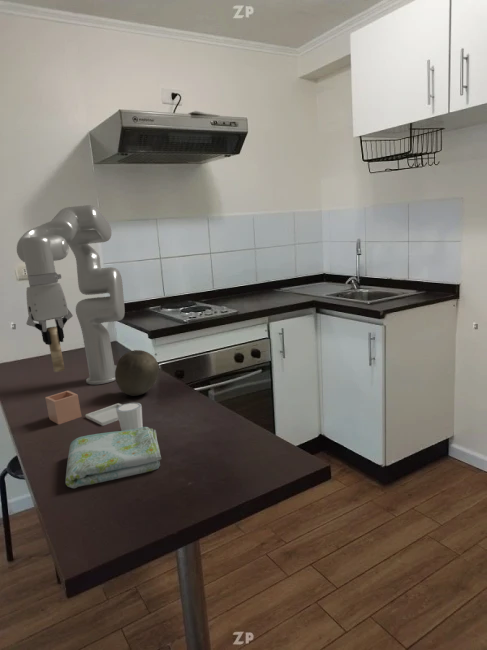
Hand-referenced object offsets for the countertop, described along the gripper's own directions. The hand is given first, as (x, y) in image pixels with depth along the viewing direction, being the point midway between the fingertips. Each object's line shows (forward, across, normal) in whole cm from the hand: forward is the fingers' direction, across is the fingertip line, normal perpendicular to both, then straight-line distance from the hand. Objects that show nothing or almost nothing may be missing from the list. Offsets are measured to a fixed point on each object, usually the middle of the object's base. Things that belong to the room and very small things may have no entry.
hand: (54, 342), depth 141 cm
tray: (+24, -9, +10) cm, 28 cm away
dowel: (+9, 0, 0) cm, 9 cm away
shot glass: (+24, -8, +25) cm, 36 cm away
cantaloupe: (+24, -25, -1) cm, 35 cm away
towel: (+25, +4, +39) cm, 46 cm away
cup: (+24, +1, -1) cm, 24 cm away
